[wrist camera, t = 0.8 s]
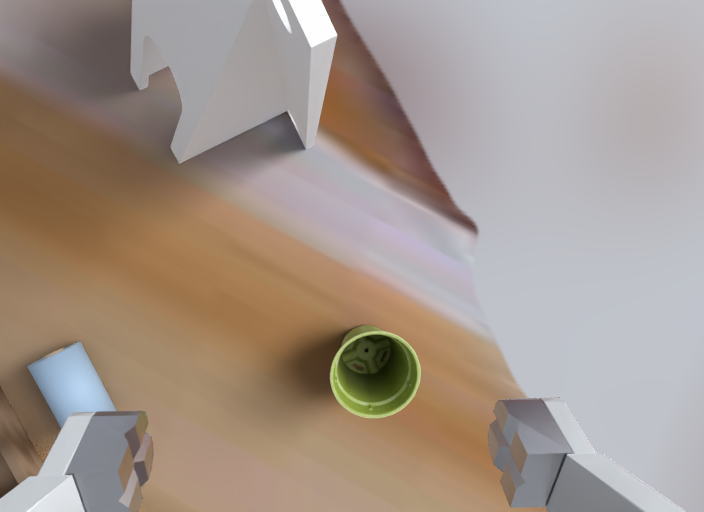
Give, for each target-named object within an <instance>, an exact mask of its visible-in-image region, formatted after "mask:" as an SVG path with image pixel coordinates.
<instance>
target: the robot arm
mask: <svg viewBox="0 0 704 512" xmlns="http://www.w3.org/2000/svg"><path fill="white" fill-rule="evenodd" d="M494 414H495V416H496V418H497V419H496V420H495V421H494V422H492V423H491V424H490V427H489V432H488V447H489V451H490V456H491V458H492V461H493V464H494V465H495V466H496V467H497V468H498V469H499V470H501V471H502V472H503V474H502V477H501V481H500V482H501V485H502V488H503V490H504V493H505V495H506V498H507V500H508V503H509V505H510V508H518V507H546V509H547V510H548V511H549V512H686V511H685V510H683V509H682V508H680V507H679V506H678V505H676V504H675V503H673V502H672V501H670V500H669V499H667V498H666V497H665V496H663V495H662V494H660V493H659V492H657V491H656V490H655V489H653V488H652V487H650V486H649V485H647V484H646V483H644V482H643V481H642V480H640V479H639V478H637V477H636V476H635V475H633V474H632V473H630V472H629V471H627V470H626V469H624V468H623V467H622V466H620V465H619V464H617V463H616V462H614V461H613V460H611V459H610V458H609V457H607V456H606V455H604V454H603V453H596V452H595V451H594V449H593V448H592V446H591V444H590V443H589V441H588V439H587V438H586V436H585V435H584V433H583V431H582V430H581V428H580V426H579V425H578V423H577V421H576V420H575V418H574V416H573V415H572V413H571V411H570V410H569V408H568V407H567V405H566V403H565V402H564V400H562V399H561V398H559V397H558V398H539V399H537V398H529V399H505V400H498V401H497V403H496V404H495V408H494ZM147 425H148V419H147V416H146V412H143V411H97V412H73V413H72V414H71V415H70V416H69V417H68V418H67V419H66V421H65V423H64V425H63V427H62V429H61V431H60V433H59V434H58V436H57V438H56V440H55V442H54V444H53V446H52V448H51V450H50V452H49V453H48V455H47V457H46V459H45V461H44V463H43V465H42V467H41V469H40V471H39V472H38V474H37V476H29V477H28V478H27V479H25V480H24V481H23V482H21V483H20V484H19V485H18V486H16V487H15V488H14V489H12V490H11V491H10V492H8V493H7V494H6V495H4V496H3V497H2V498H1V499H0V512H139V509H140V506H141V503H142V499H143V497H142V493H141V489H140V487H141V486H142V485H143V484H144V483H145V482H147V481H148V479H149V476H150V472H151V469H152V462H153V441H152V436H150V435H149V434H148V433H146V432H145V431H146V428H147Z"/></svg>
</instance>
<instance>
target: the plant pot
mask: <svg viewBox="0 0 704 512" xmlns="http://www.w3.org/2000/svg"><path fill="white" fill-rule="evenodd" d="M377 334H379V335H377ZM346 346H348V347H347V348H346ZM366 348H368V350H369V351H368V352H367V353H366V352H365V351H364V350H365V349H366ZM385 352H386V353H387V354H386V357H385V359H384V361H382V362H381V359H382V357H383V355H384V353H385ZM353 364H356V365H358V366H360V367H363V368H364V369H362V370H360V369H357V368H355V367H354V366H353ZM420 375H421V371H420V364H419V360H418V358H417V355H416V353H415V351H414V350H413V348H412V347H411V346H410V345H409V344H408V343H407V342H406V341H405V340H404V339H402V338H401V337H399V336H397V335H395V334H393V333H389V332H385V331H383V330H381V329H380V328H378V327H375V326H371V325H363V326H359V327H357V328H354V329H352V330H351V331H350V332H349V333H348V334H347V335H346V336H345V337H344V339H343V341H342V344H341V348H340V349H339V350H338V352H337V353H336V355H335V357H334V359H333V362H332V365H331V370H330V384H331V388H332V391H333V394H334V396H335V397H336V399H337V401H338V402H339V403H340V404H341V405H342V406H343V407H344V408H345V409H346V410H348V411H349V412H351V413H353V414H355V415H358V416H361V417H365V418H383V417H387V416H390V415H393V414H395V413H397V412H398V411H400V410H402V409H403V408H404V407H405V406H406V405H407V404H408V403H409V402H410V401H411V400H412V399H413V397H414V395H415V393H416V391H417V389H418V387H419V383H420Z"/></svg>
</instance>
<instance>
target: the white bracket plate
mask: <svg viewBox="0 0 704 512" xmlns="http://www.w3.org/2000/svg"><path fill="white" fill-rule="evenodd" d="M336 39H337V34H336V31H335V29H334V27H333V25H332V23H331V21H330V19H329V16H328V14H327V12H326V10H325V8H324V6H323V4H322V1H321V0H132V25H131V71H130V73H131V75H132V77H133V79H134V81H135V83H136V85H137V87H138V88H139V90H142V89H144V88H147V87H148V82H149V75H151V74H153V73H155V72H157V71H159V70H161V69H163V68H165V67H167V66H169V68H170V70H171V72H172V75H173V77H174V79H175V82H176V85H177V88H178V91H179V94H180V98H181V103H182V113H181V116H180V119H179V122H178V125H177V128H176V131H175V134H174V137H173V140H172V143H171V146H170V148H171V150H172V152H173V154H174V155H175V157H176V159H177V161H178V163H179V164H180V163H182V162H184V161H186V160H188V159H190V158H192V157H194V156H196V155H198V154H200V153H202V152H204V151H206V150H209V149H211V148H213V147H215V146H217V145H219V144H221V143H223V142H225V141H227V140H229V139H231V138H233V137H235V136H237V135H239V134H241V133H243V132H245V131H247V130H249V129H251V128H253V127H256V126H258V125H260V124H262V123H264V122H266V121H268V120H270V119H272V118H274V117H276V116H278V115H280V114H282V113H284V112H286V111H287V112H288V114H289V116H290V118H291V120H292V122H293V124H294V126H295V128H296V130H297V132H298V134H299V136H300V138H301V140H302V142H303V144H304V147H305V149H308V148H310V147H312V146H314V143H315V138H316V133H317V128H318V124H319V119H320V114H321V110H322V105H323V100H324V95H325V91H326V86H327V81H328V77H329V72H330V67H331V62H332V58H333V53H334V48H335V43H336Z"/></svg>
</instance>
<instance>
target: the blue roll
mask: <svg viewBox="0 0 704 512" xmlns="http://www.w3.org/2000/svg"><path fill="white" fill-rule="evenodd" d="M28 369H29V371H30V372H31V374H32V376H33V378H34V380H35V382H36V383H37V385H38V387H39V389H40V391H41V393H42V394H43V396H44V398H45V400H46V402H47V404H48V405H49V407H50V409H51V411H52V413H53V415H54V416H55V418H56V420H57V422H58V424H59V425H60V427H61V429H62V427H63V425H64V423H65V421H66V419H67V418H68V417H69V416H70V415H71V414H72V413H73V412H97V411H117V410H116V409H115V407H114V405H113V403H112V401H111V399H110V397H109V395H108V393H107V391H106V389H105V388H104V386H103V384H102V382H101V380H100V378H99V376H98V374H97V372H96V370H95V368H94V367H93V365H92V363H91V361H90V359H89V357H88V355H87V353H86V351H85V349H84V348H83V346H82V344H81V342H76V343H73V344H71V345H68V346H66V347H64V348H60V349H58V350H56V351H53V352H51V353H49V354H47V355H46V356H44V357H43V358H41V359H39V360H37V361H35V362H33V363H32V364H30V365H29V366H28Z"/></svg>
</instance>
